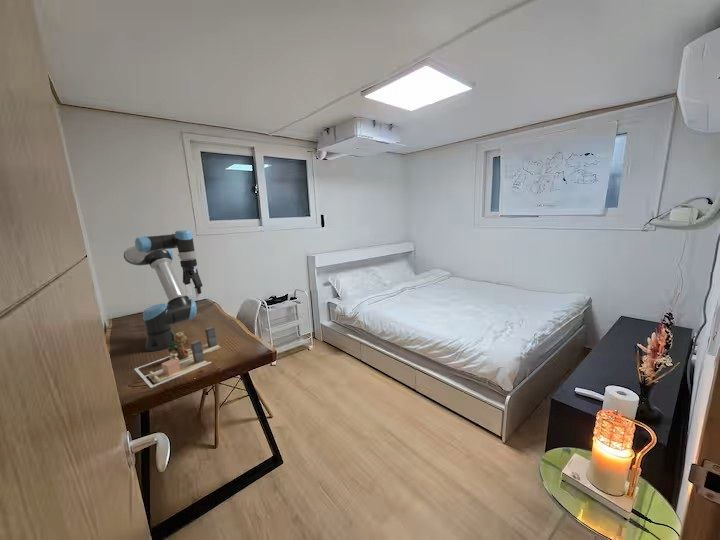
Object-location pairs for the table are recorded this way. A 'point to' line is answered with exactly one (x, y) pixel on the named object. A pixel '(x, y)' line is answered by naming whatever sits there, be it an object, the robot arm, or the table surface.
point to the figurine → (179, 346)
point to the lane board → (162, 370)
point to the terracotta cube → (171, 367)
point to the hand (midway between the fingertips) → (194, 297)
